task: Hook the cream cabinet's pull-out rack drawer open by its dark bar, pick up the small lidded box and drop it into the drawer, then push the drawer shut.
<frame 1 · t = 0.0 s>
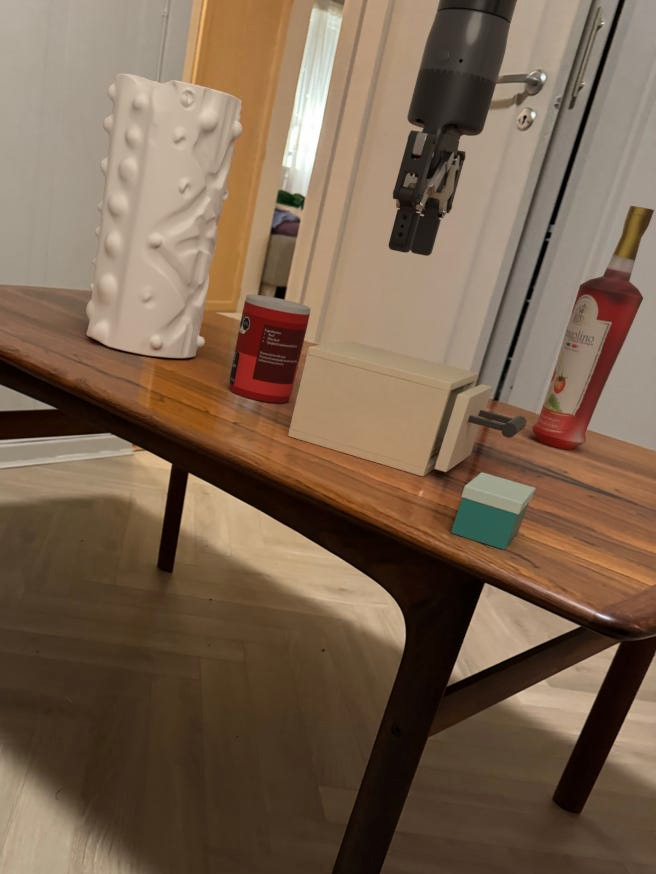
hand: (409, 252, 95), 19 cm above the table, tool pointing down, fingers open, 8 cm apart
liquor: (554, 445, 117), on the table
canned food: (258, 396, 111), on the table
drawer: (428, 416, 92), point 5 cm above the table, slide at 0.7 cm
vase: (141, 348, 128), on the table
small lidded box: (485, 532, 75), on the table
cabinet: (372, 447, 96), on the table
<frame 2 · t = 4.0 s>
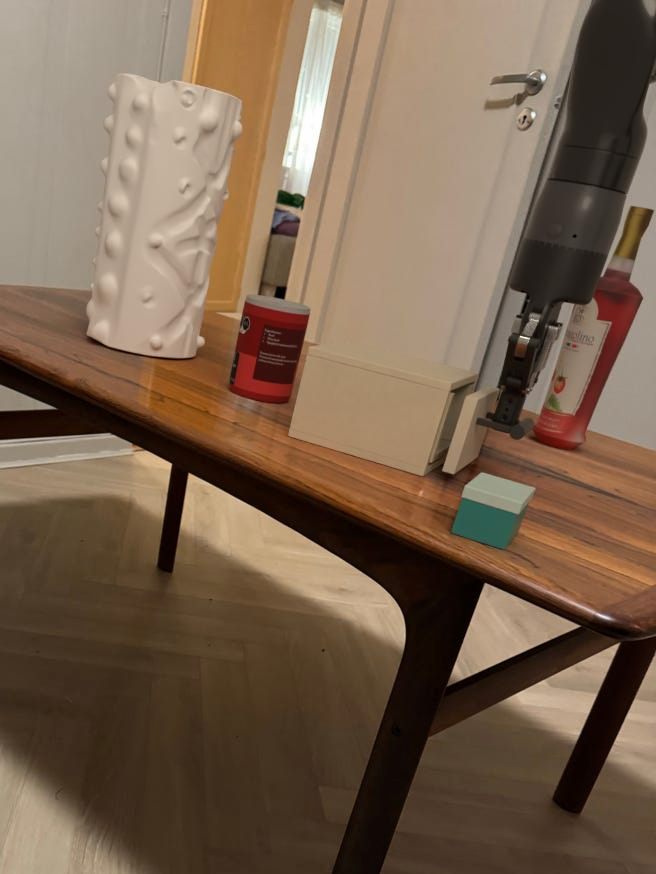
hand: (501, 430, 89), 5 cm above the table, tool pointing down, fingers closed
drawer: (435, 418, 92), point 5 cm above the table, slide at 1.5 cm
everything else where it was.
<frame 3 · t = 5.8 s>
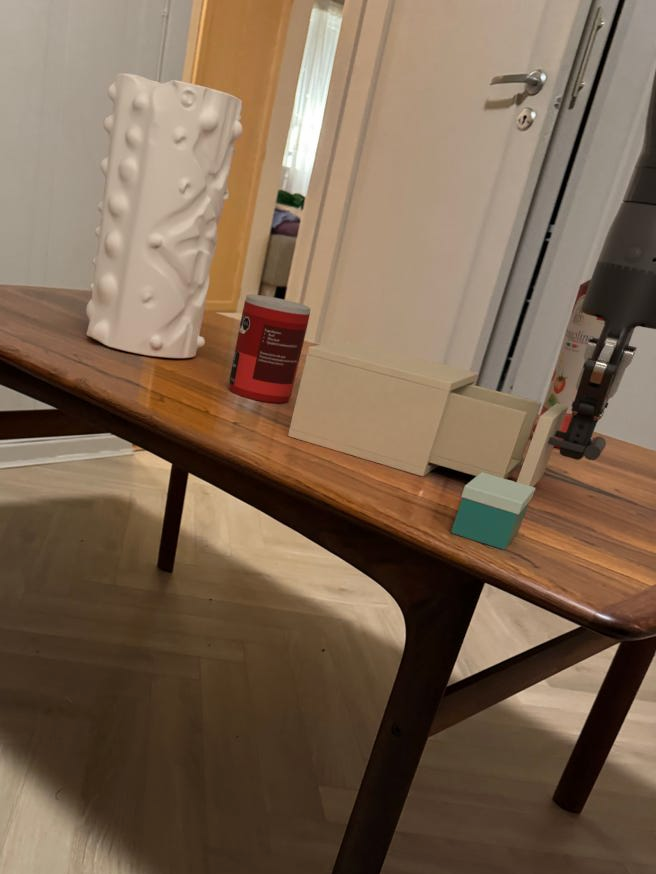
hand: (570, 456, 87), 4 cm above the table, tool pointing down, fingers closed
drawer: (503, 437, 90), point 5 cm above the table, slide at 8.4 cm
everything else where it was.
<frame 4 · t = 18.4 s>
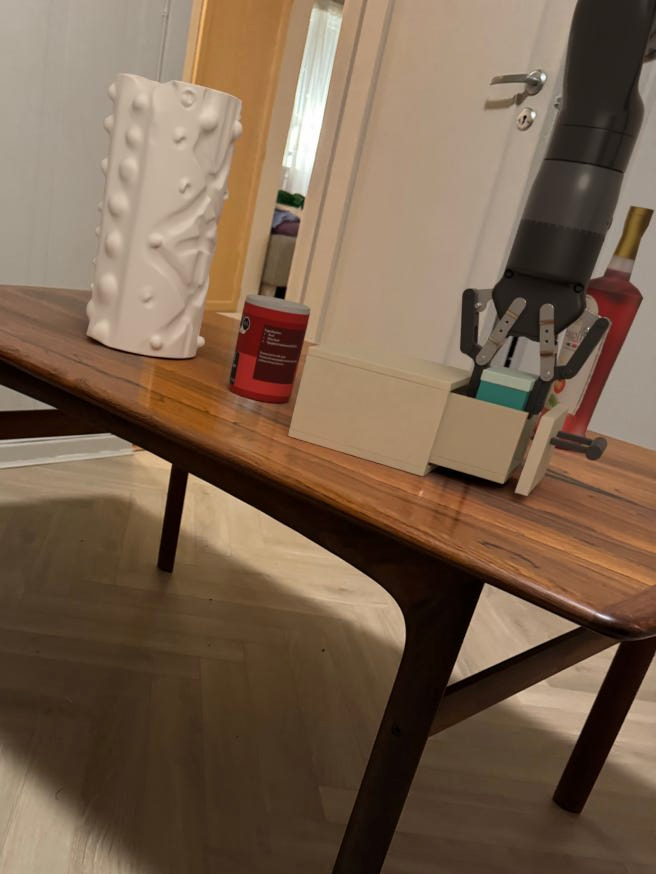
hand: (501, 410, 89), 7 cm above the table, tool pointing down, fingers closed on small lidded box, 4 cm apart
small lidded box: (499, 413, 89), point 7 cm above the table, touching gripper
everything else where it was.
when the fingers open (10 cm above the table, at t = 34.4 s): small lidded box drops 8 cm, resting on drawer.
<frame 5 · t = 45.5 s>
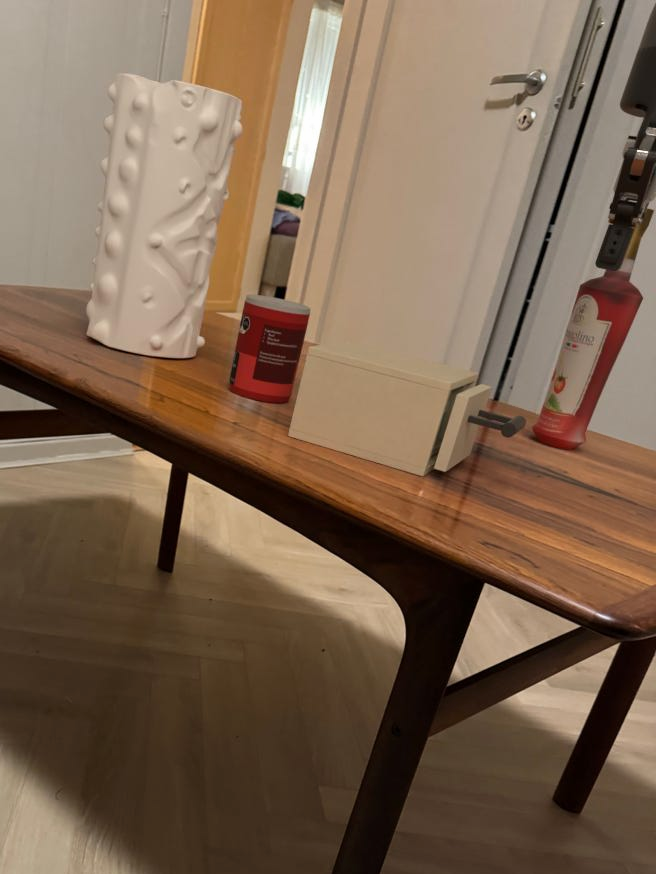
hand: (606, 269, 84), 21 cm above the table, tool pointing down, fingers closed
drawer: (427, 416, 92), point 5 cm above the table, slide at 0.6 cm, touching small lidded box
small lidded box: (409, 437, 94), point 2 cm above the table, touching drawer
everything else where it was.
at the end: drawer pulled out 8.6 cm at the most during the clip, back to 0.6 cm at the end; small lidded box inside the target area in the cabinet (3.6 cm from its centre), point 2.0 cm above the cabinet's base; drawer slide at 0.6 cm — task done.
